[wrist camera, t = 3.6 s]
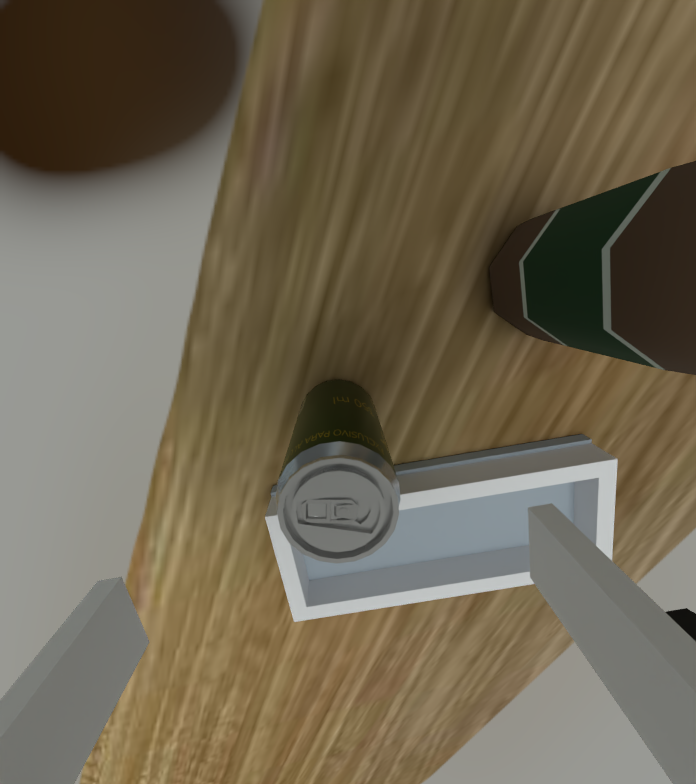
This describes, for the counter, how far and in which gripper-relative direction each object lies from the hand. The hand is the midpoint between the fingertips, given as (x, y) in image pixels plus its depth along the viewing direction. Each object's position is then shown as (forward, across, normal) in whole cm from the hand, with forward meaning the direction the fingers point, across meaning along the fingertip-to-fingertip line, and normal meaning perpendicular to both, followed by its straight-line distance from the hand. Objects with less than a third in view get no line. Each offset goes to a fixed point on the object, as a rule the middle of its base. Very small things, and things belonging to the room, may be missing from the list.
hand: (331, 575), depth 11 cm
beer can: (+15, 0, 0) cm, 15 cm away
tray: (+15, +6, -10) cm, 19 cm away
